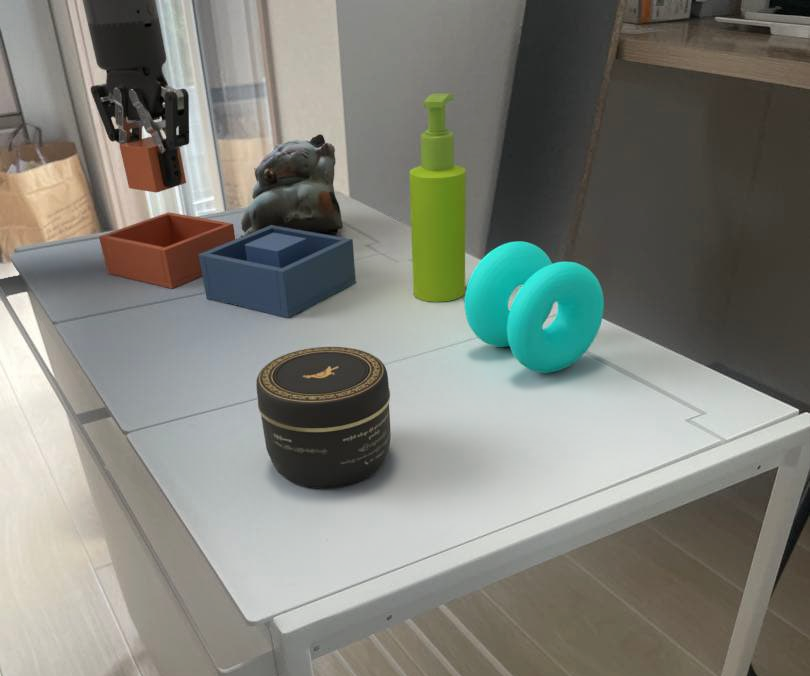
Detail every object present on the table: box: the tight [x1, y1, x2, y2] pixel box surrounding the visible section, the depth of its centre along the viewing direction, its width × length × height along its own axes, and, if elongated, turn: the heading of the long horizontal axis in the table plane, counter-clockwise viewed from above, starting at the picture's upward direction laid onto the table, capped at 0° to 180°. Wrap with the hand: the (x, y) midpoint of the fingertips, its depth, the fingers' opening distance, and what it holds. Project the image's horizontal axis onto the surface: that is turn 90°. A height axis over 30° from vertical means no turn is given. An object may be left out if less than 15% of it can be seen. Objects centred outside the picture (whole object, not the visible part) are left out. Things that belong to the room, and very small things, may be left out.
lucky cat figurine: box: [240, 133, 344, 238], centre depth 112 cm, size 15×12×14 cm
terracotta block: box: [118, 136, 187, 194], centre depth 99 cm, size 5×5×5 cm
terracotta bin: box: [98, 211, 237, 289], centre depth 105 cm, size 12×12×5 cm
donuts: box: [464, 240, 605, 374], centre depth 78 cm, size 10×10×10 cm
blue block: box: [245, 233, 308, 268], centre depth 96 cm, size 5×5×5 cm
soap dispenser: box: [409, 93, 467, 303], centre depth 90 cm, size 6×7×20 cm
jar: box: [255, 346, 392, 489], centre depth 65 cm, size 10×10×8 cm
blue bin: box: [199, 225, 357, 319], centre depth 97 cm, size 12×12×5 cm
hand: (157, 182), depth 100 cm, fingers closed on terracotta block, 4 cm apart
